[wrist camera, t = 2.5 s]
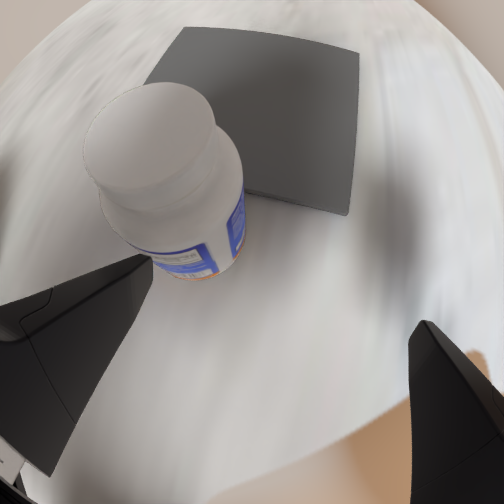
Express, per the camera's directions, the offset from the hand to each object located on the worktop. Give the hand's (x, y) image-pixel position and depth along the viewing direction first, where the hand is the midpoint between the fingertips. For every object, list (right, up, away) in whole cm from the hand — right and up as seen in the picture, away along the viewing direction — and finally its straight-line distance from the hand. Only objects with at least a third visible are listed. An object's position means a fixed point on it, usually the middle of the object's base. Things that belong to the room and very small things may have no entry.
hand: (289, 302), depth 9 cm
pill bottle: (-4, +2, +8) cm, 9 cm away
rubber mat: (-2, +13, +11) cm, 17 cm away
